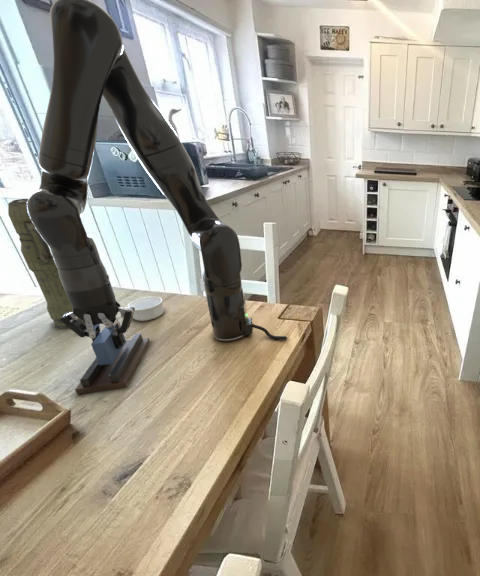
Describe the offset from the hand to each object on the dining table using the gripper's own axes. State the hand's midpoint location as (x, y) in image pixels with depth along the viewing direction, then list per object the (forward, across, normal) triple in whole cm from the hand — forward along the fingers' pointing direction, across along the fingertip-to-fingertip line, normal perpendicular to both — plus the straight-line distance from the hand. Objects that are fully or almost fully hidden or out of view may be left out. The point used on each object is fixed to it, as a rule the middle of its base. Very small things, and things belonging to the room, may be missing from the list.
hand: (111, 347), depth 77 cm
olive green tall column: (+6, -19, +26) cm, 33 cm away
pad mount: (+5, 0, 0) cm, 5 cm away
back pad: (+2, 0, 0) cm, 2 cm away
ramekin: (+6, 0, +25) cm, 26 cm away
